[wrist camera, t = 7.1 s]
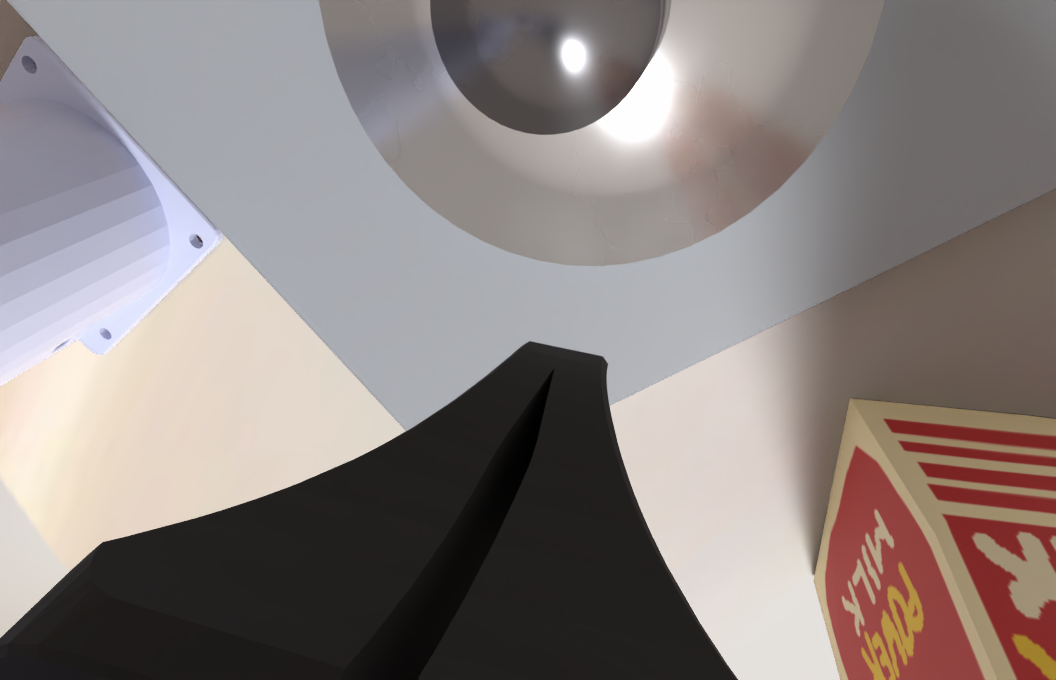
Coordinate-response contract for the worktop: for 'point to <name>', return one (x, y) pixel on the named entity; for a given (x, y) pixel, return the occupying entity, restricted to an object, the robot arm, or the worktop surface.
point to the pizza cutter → (597, 111)
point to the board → (536, 286)
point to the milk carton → (941, 545)
